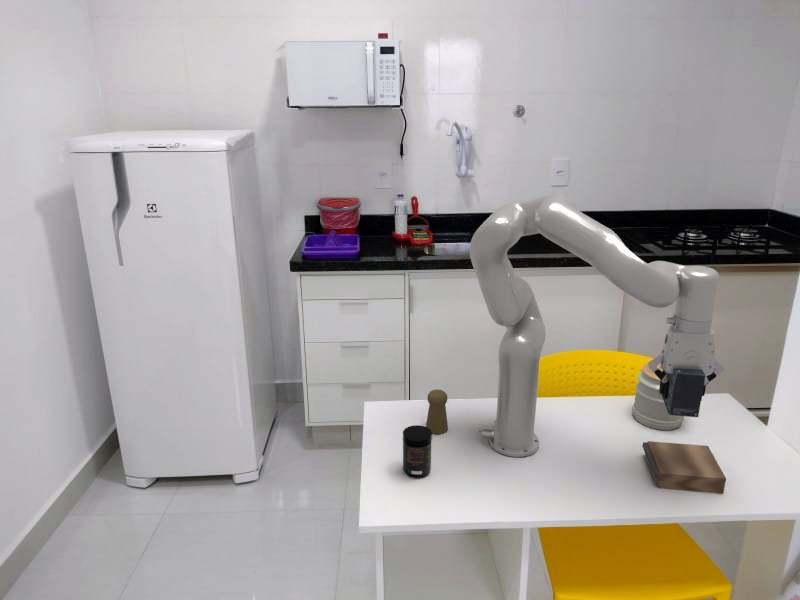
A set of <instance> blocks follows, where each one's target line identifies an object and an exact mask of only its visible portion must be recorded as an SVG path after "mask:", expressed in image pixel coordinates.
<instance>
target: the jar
mask: <svg viewBox="0 0 800 600" xmlns="http://www.w3.org/2000/svg"><path fill="white" fill-rule="evenodd" d="M657 368H659V369H660V370H661V371H662V370H663V365H662V364H661V363H660V364H659V365H657ZM637 379H638V382H637V383H636V386H635V395H634V396H635V397H634V403H633V405H632V406H633V407H632V411H633V412H632V415H633V418H634V419H635V420H636V421H637V422H639V424H642V425H644V426H646V427H649V428H651V429H656V430H661V431H669V430H670V431H671V430H675V429H678V428H680V427H681V426H682V424H683V422H684V420H685V416H677V415H669V413H668V411H667V408H666V406H665V403H664V400H663V398H662V395H661V394H660V392H659V387H660V379H659V378H658V377H657V376H656V375H655V373H654V372H653V371H652V370H651V369H650V368H649V366H648V362H647V363H645V364H644V365H642V367H641V371H639V372H638V374H637Z"/></svg>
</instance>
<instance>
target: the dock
mask: <svg viewBox="0 0 800 600" xmlns="http://www.w3.org/2000/svg"><path fill="white" fill-rule="evenodd" d="M641 447H642V449H643V451H644V456H645V458H646V460H647V463H648V466H649V468H650V471H651V474H652V477H653V478H654V481H655V485H656V487H657V488H658V489H665V490H677V491H689V492H702V493H709V494H710V493H711V494H724V491H725V486H726V481H727V477H726V476H725V474H724V472H723V470H722V468H721V467H720V464H719V463H718V461H717V460H716V457H715V456H714V454H713V452H712V451H711V449H710V447H709V446H708V445H705V444H704V445H703V444H702V445H700V444H690V443H679V442H678V443H677V442H674V443H673V442H663V441H662V442H661V441H648V440H647V442H646V441H643V442H642V446H641Z"/></svg>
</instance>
